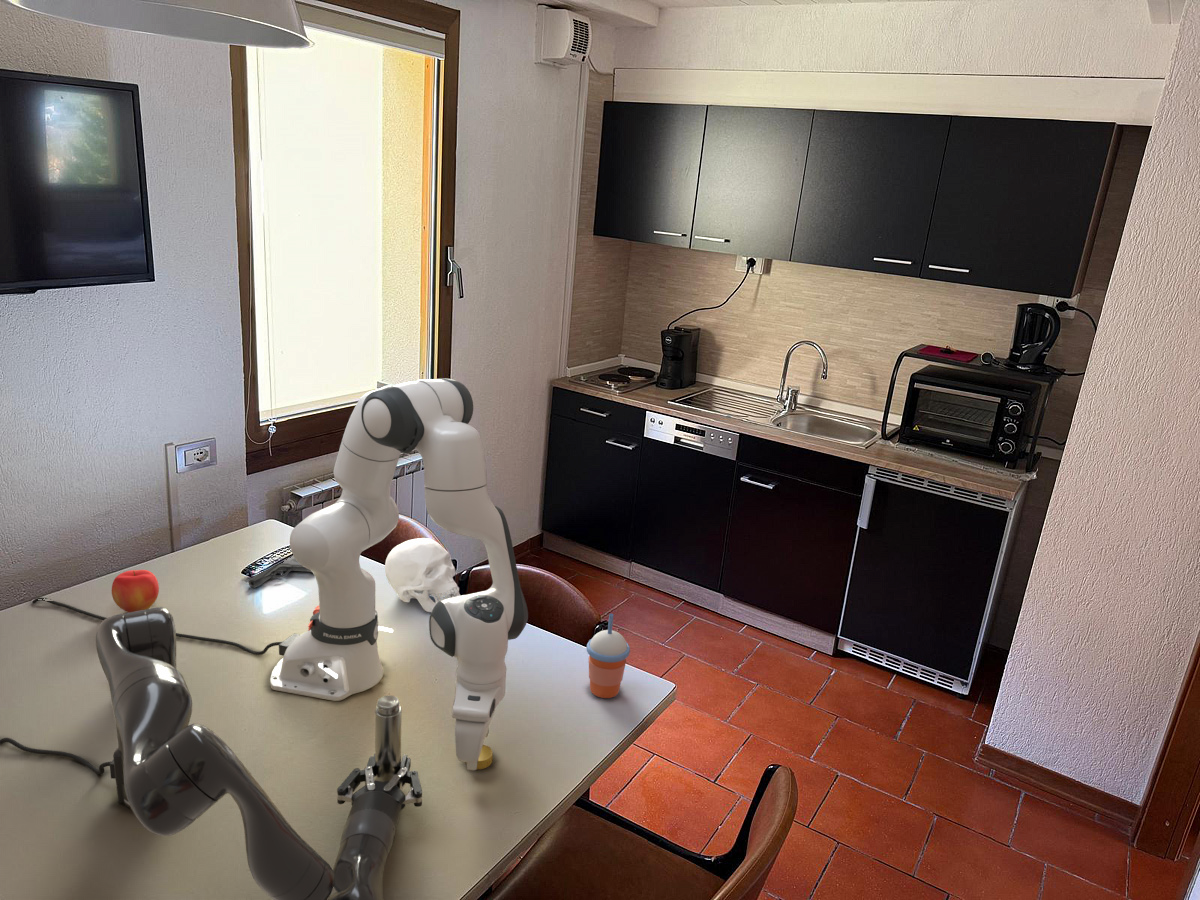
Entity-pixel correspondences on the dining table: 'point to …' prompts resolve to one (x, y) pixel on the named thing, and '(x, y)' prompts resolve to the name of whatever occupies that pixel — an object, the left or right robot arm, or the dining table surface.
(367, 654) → the right robot arm
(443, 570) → the skull
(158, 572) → the dining table surface
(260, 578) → the handgun
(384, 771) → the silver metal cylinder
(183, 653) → the dining table surface
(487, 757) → the lid
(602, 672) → the cup with straw
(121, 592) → the apple
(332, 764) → the dining table surface
